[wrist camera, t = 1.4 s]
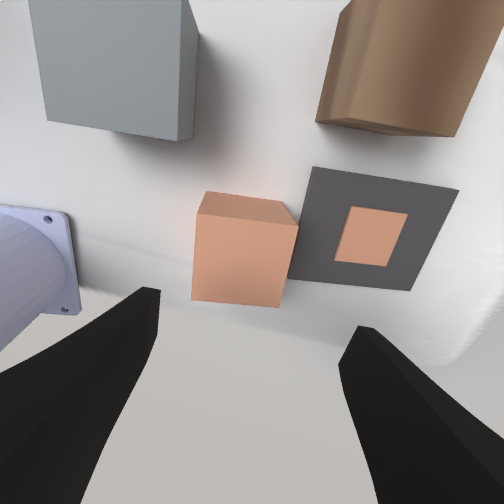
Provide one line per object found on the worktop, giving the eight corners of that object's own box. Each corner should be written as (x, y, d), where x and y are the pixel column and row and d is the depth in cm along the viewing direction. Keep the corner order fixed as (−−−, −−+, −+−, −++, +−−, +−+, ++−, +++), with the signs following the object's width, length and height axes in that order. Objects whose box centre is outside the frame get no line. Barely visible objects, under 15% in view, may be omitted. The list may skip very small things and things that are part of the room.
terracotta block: (201, 259, 19) (190, 300, 14) (206, 190, 17) (196, 213, 12) (268, 266, 19) (278, 307, 15) (281, 201, 17) (298, 226, 13)
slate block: (104, 123, 15) (47, 120, 10) (95, 10, 13) (18, -57, 8) (193, 137, 15) (177, 141, 11) (199, 32, 13) (181, -19, 9)
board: (286, 274, 20) (288, 280, 19) (312, 166, 16) (316, 167, 16) (405, 286, 21) (411, 292, 20) (452, 188, 18) (461, 191, 17)
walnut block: (314, 121, 15) (348, 117, 11) (339, 13, 13) (394, -47, 9) (391, 135, 16) (454, 137, 11) (426, 34, 14) (519, -12, 9)
